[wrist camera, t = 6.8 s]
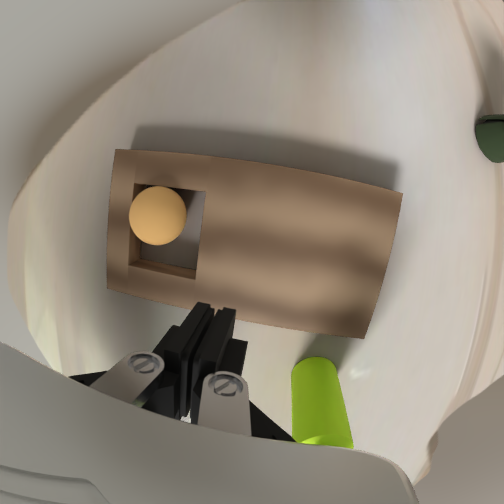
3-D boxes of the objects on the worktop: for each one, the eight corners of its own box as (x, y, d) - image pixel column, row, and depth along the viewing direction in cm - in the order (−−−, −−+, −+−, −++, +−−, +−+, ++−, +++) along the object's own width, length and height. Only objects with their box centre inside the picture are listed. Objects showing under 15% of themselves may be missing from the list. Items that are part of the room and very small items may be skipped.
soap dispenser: (281, 360, 33) (274, 502, 14) (336, 353, 32) (369, 491, 13) (285, 393, 35) (280, 524, 15) (335, 387, 34) (359, 515, 14)
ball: (145, 177, 23) (124, 241, 24) (203, 198, 27) (182, 257, 27) (137, 178, 28) (119, 231, 29) (185, 195, 32) (168, 245, 32)
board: (358, 326, 31) (364, 339, 28) (119, 280, 33) (107, 288, 30) (392, 192, 27) (402, 193, 25) (128, 151, 29) (115, 149, 26)
